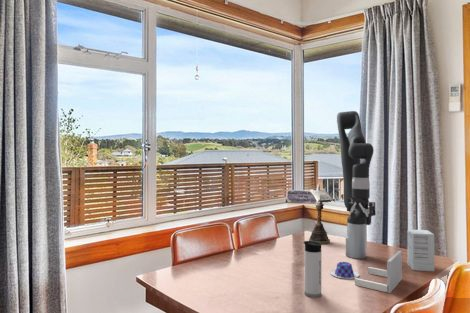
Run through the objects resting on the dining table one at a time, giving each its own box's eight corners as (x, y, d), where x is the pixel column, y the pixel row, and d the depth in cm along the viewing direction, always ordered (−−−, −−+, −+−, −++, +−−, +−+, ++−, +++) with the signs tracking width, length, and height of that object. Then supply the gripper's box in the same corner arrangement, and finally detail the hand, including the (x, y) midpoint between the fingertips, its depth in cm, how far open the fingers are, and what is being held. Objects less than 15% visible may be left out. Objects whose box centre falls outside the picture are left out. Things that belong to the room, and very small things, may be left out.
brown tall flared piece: (340, 245, 203) (340, 184, 202) (319, 247, 199) (319, 185, 199) (325, 238, 219) (325, 182, 218) (306, 239, 215) (306, 182, 215)
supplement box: (435, 271, 158) (435, 234, 158) (412, 270, 160) (412, 233, 160) (427, 265, 168) (428, 229, 167) (406, 263, 170) (407, 228, 169)
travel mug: (301, 291, 137) (301, 239, 137) (318, 290, 138) (318, 239, 137) (306, 297, 131) (306, 243, 131) (323, 297, 131) (323, 243, 131)
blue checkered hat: (324, 273, 158) (324, 261, 158) (345, 269, 163) (345, 258, 163) (343, 282, 147) (343, 269, 147) (365, 277, 152) (365, 265, 152)
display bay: (354, 284, 143) (354, 255, 143) (368, 272, 158) (369, 245, 158) (390, 293, 135) (390, 261, 135) (401, 279, 150) (401, 250, 149)
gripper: (342, 186, 164) (342, 221, 164) (367, 189, 152) (367, 227, 152) (354, 185, 168) (354, 219, 168) (379, 188, 155) (379, 225, 156)
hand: (360, 223), depth 160 cm, fingers open, 8 cm apart
